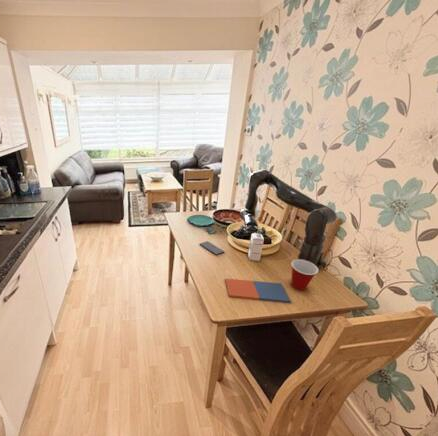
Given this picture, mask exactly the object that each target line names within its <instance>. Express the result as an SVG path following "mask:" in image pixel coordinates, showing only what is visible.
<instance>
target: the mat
mask: <svg viewBox="0 0 438 436" xmlns="http://www.w3.org/2000/svg"><path fill="white" fill-rule="evenodd" d="M224 281H225V284H226V288H227V293H228V297H229V298H238V299H239V298H240V299H247V300H248V299H249V300H258V301H267V302H268V301H269V302H278V303H289V304H291V302H292V301H291V299H290V297H289V295H288V293H287V292H286V290H285V288H284V286H283V284H282V283H281V282H280V283H279V282H269V281H257V280H245V279H236V278H234V279H233V278H225V280H224Z"/></svg>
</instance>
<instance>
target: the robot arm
mask: <svg viewBox="0 0 438 436" xmlns="http://www.w3.org/2000/svg"><path fill="white" fill-rule="evenodd" d="M248 180H249V181H248V192H247V198H246V200H245V201H246V202H245V204H244V208H243V209H241V210H240V212H239V218H240V219H241V220H242V221H243V224H241V225H240V229H239V230H240V233H243V235H244V236H246V237H247V236H248V234H249V233H254V234H262V236H263V237H264V236H266V233H267V230H266V229H265V227H264V226H262V227H259V225H258V222H257V220H256V216H257V213H256V212H257V211H256V209H257V206H258V202H259V196H258V193H257V191H258V189H259V187H261V186H264V185H267V186H269V187H270V188H272V189H273V191H274V194H275V196H276V198H277V199H278V200H280V201H281V202H283V203H284V204H286V205H288V206H290V207H292V208H295V209H299V210H301V211H304V212H305V213H308V216H307V218H306V222H305V226H304V233H305V234H304V237H303V240H302V243H301V245H300V246H301V247H300V250H299V253H298V255H297V259H296V260H298V259H299V260H305V261H309V262H311V263H313V264H314V265H315V266H317V268H318V269H319V267H321V268H322V269H324V268H326V267H327V263H326V262H325V260H324V259H323V256H324V253H323V250H324V248H325V247H324V246H325V244H326V240H327V237H328V234H327V233H326V232H325V231H326V227H327V226H330V225H332V224H334V223H336V222H337V219H338V214H337V213H336V211H335V210H334V209H333V208H331V207H329V206H327V205H325V204H323V203H321V202H319V201H317V200H315V199H312V198H311V197H309V196H308V195H306V194H304V193H303V192H302V191H300V190H298V189H296V188H295V187H293V186H292V185H289V184H288V183H286V182H284V180H281V179H280V178H278V177H277V176H276V175H275V174H273V173H272V172H270V171H269V170H268V169H264V168H263V169H260V170H256V171H254V172H251V174H250V176H249V179H248Z"/></svg>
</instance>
